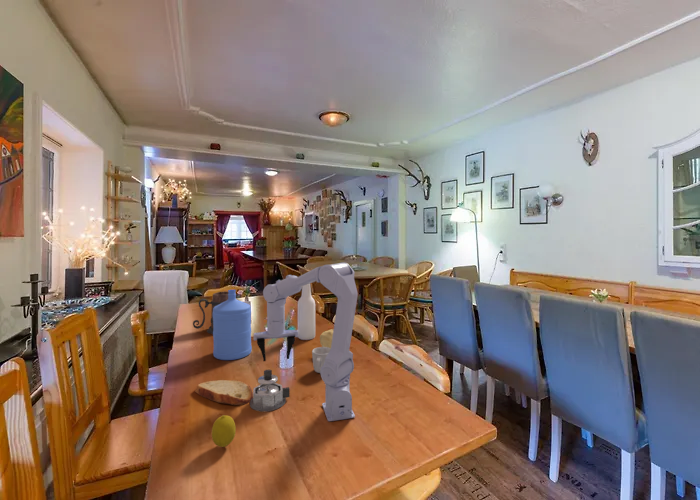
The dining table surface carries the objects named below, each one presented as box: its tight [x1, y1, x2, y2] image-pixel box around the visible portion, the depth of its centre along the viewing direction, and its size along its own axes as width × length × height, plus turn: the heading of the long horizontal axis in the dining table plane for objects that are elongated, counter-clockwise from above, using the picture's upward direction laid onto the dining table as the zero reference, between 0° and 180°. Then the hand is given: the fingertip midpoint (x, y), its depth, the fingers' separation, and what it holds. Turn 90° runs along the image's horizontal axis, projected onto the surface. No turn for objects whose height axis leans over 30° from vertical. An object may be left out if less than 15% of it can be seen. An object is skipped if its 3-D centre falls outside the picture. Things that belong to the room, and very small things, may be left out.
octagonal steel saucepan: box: [252, 382, 291, 409], centre depth 102 cm, size 9×11×4 cm
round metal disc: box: [249, 398, 287, 413], centre depth 102 cm, size 11×11×1 cm
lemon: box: [211, 414, 237, 448], centre depth 80 cm, size 6×6×8 cm
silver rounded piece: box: [257, 369, 279, 396], centre depth 101 cm, size 7×7×7 cm
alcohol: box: [297, 283, 316, 341], centre depth 163 cm, size 9×9×30 cm
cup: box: [311, 346, 331, 374], centre depth 123 cm, size 11×8×8 cm
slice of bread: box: [194, 379, 253, 406], centre depth 106 cm, size 18×18×4 cm
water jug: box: [212, 289, 252, 361], centre depth 141 cm, size 16×16×28 cm
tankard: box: [192, 290, 228, 335], centre depth 174 cm, size 24×17×20 cm
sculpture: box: [319, 328, 334, 348], centre depth 142 cm, size 12×12×11 cm
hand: (276, 359), depth 109 cm, fingers open, 7 cm apart
